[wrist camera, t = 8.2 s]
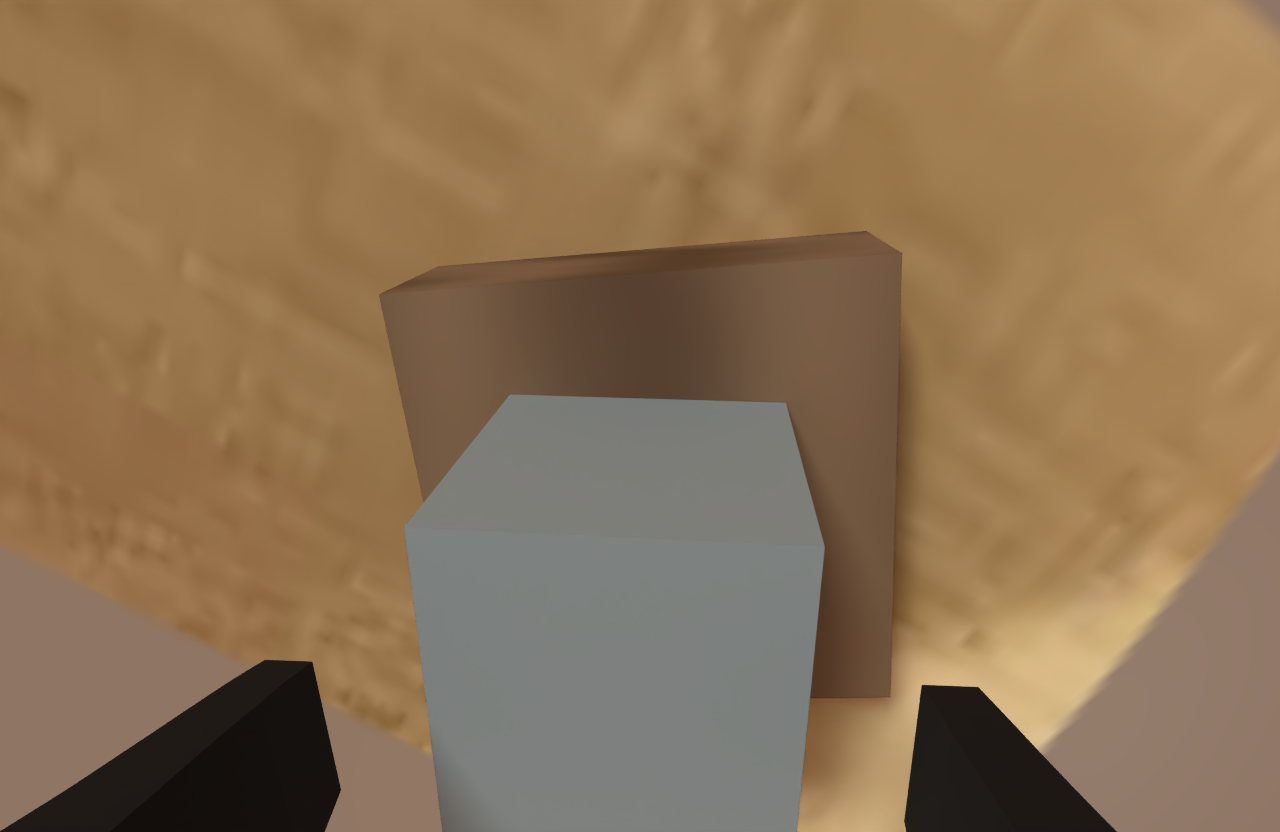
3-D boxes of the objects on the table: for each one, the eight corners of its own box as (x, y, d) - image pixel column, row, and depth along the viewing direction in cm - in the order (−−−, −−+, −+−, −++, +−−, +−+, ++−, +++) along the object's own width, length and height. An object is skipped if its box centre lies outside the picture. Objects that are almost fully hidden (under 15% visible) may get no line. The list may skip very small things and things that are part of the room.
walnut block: (507, 607, 20) (466, 701, 16) (445, 263, 17) (378, 294, 13) (859, 598, 18) (890, 697, 15) (862, 228, 15) (901, 253, 12)
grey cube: (525, 623, 15) (442, 833, 11) (509, 394, 14) (404, 527, 9) (768, 637, 15) (793, 862, 10) (786, 403, 13) (824, 547, 9)
